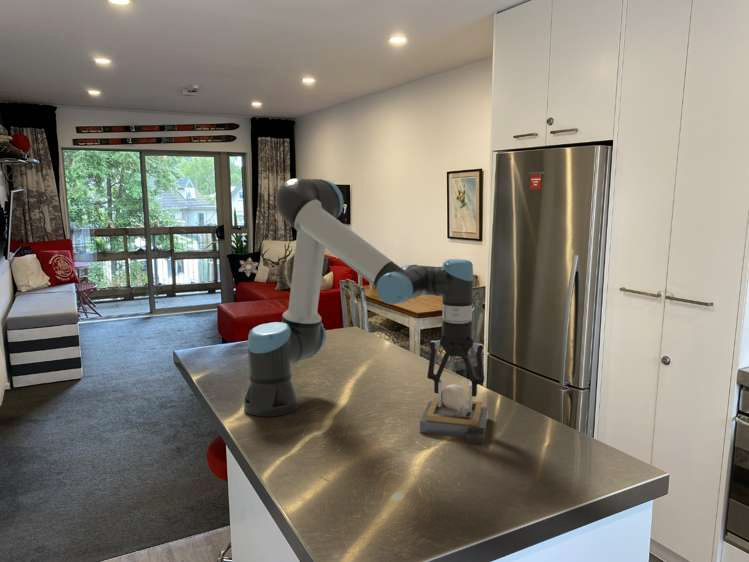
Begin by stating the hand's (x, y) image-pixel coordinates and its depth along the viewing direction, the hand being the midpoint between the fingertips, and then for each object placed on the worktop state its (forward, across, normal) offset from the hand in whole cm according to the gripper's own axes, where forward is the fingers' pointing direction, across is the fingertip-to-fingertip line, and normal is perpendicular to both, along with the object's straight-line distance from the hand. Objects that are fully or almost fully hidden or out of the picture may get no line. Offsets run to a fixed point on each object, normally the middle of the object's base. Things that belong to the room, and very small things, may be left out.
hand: (455, 406), depth 144 cm
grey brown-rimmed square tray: (+5, 0, 0) cm, 5 cm away
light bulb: (+1, +1, -2) cm, 2 cm away
